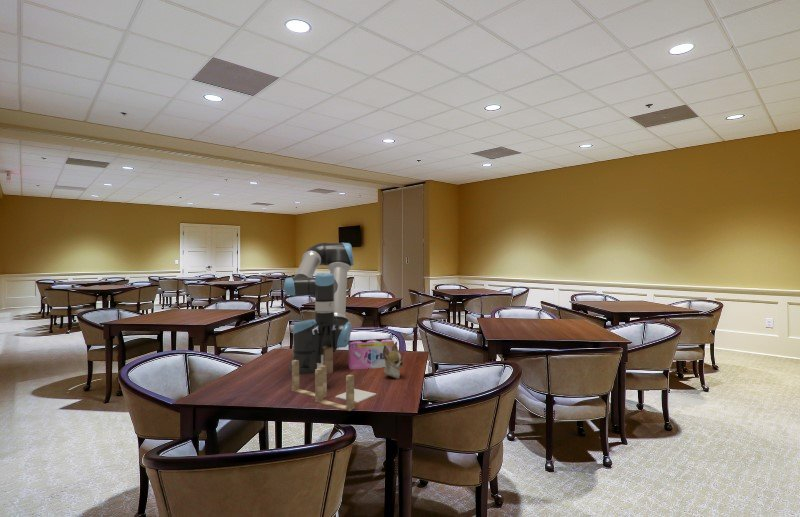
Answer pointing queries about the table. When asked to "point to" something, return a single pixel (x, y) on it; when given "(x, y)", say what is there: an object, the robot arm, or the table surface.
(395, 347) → the ceramic sculpture
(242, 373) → the table surface
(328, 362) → the walnut block
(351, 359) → the gum box
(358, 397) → the pad
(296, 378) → the gate
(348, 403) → the gate
